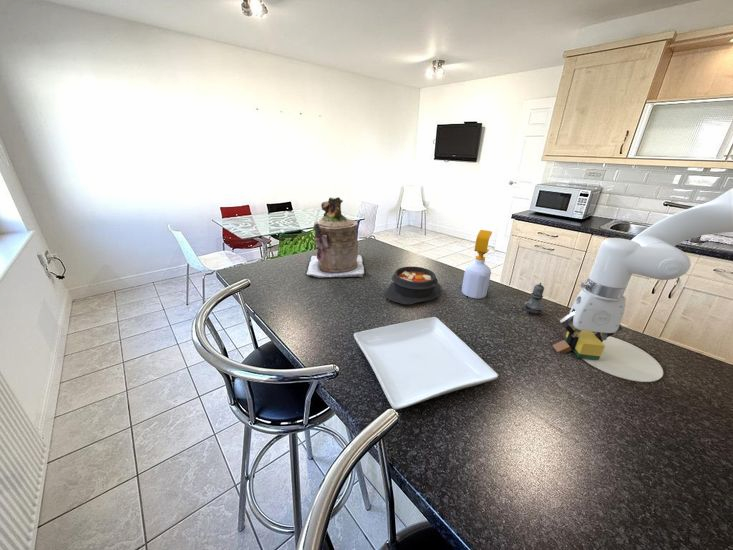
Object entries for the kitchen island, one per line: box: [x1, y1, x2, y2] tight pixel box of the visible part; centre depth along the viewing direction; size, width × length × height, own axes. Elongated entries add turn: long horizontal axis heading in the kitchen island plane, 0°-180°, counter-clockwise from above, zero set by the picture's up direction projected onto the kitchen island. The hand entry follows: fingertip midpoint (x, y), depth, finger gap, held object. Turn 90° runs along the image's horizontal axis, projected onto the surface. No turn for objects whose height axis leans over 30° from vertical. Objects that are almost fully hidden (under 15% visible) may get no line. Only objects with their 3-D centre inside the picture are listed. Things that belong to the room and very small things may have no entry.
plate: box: [581, 332, 664, 383], centre depth 79 cm, size 20×20×1 cm
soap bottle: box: [461, 229, 493, 300], centre depth 108 cm, size 9×9×25 cm
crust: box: [552, 339, 573, 354], centre depth 81 cm, size 4×3×2 cm
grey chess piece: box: [522, 282, 545, 315], centre depth 97 cm, size 6×6×12 cm
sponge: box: [564, 328, 605, 360], centre depth 79 cm, size 5×8×5 cm, turn 171°
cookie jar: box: [306, 196, 365, 279], centre depth 127 cm, size 25×25×32 cm
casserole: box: [384, 265, 441, 305], centre depth 110 cm, size 25×19×8 cm
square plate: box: [353, 316, 499, 410], centre depth 75 cm, size 27×27×4 cm
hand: (581, 347), depth 80 cm, fingers closed on sponge, 5 cm apart
